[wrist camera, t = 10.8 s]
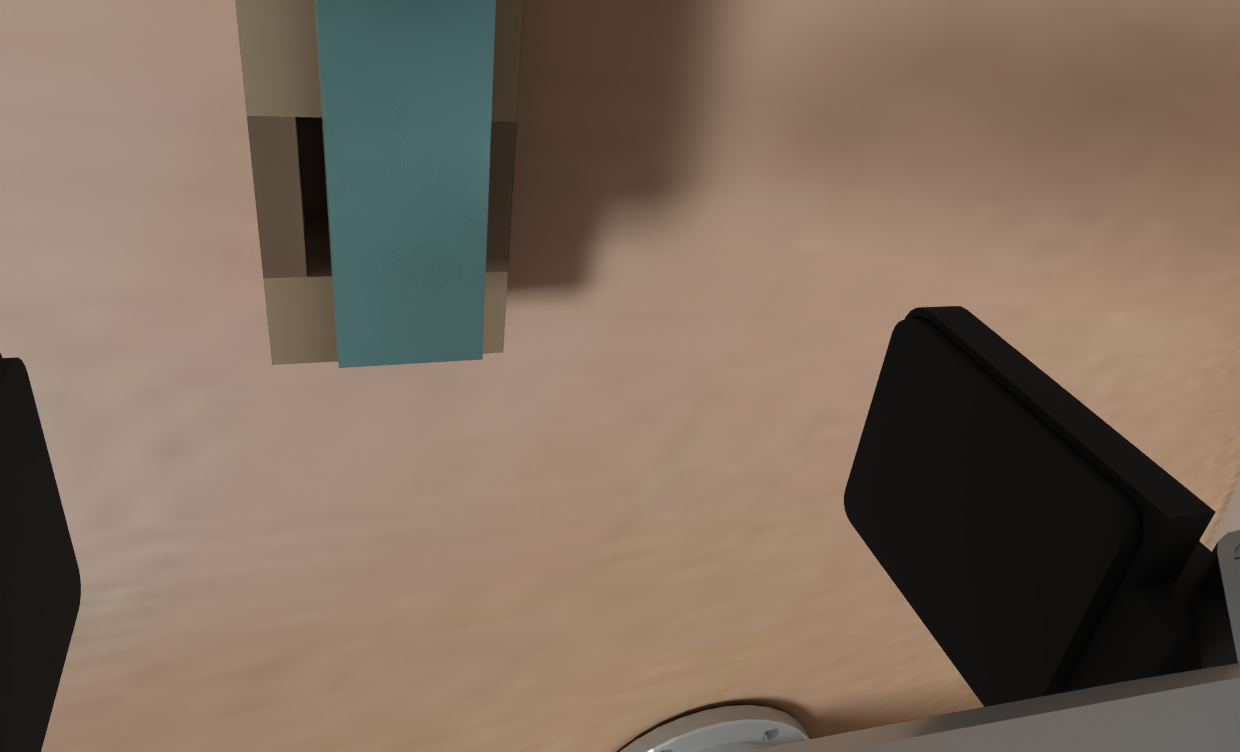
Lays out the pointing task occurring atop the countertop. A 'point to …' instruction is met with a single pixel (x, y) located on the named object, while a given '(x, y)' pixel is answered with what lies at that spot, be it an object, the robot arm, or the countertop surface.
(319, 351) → the tan slotted block
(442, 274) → the teal and white bridge
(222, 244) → the countertop surface
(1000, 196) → the countertop surface
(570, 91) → the countertop surface
